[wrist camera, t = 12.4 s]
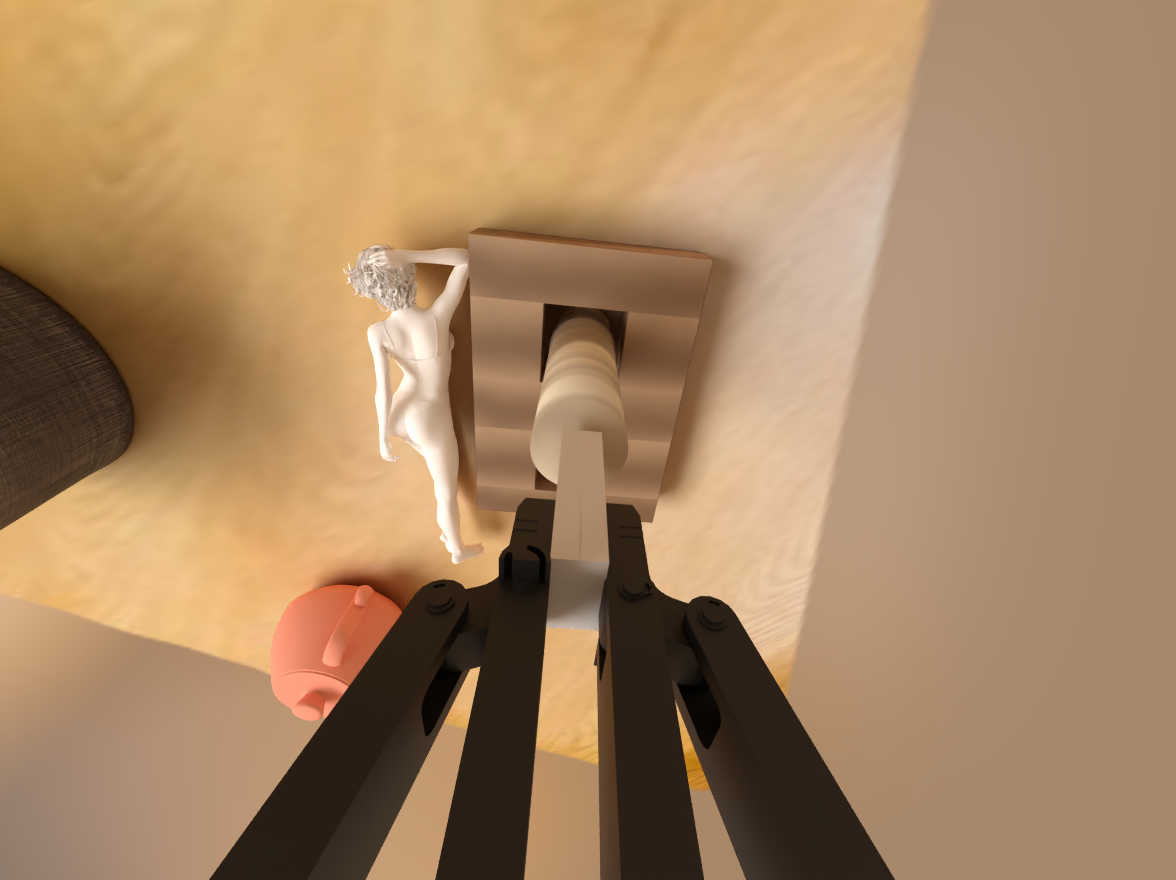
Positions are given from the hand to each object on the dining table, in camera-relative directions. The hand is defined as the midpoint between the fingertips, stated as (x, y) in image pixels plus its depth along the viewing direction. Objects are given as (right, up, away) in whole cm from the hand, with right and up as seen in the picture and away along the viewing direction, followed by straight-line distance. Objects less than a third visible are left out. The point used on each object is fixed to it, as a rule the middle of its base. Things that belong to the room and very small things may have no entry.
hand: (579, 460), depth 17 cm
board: (0, +5, +16) cm, 16 cm away
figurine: (-10, +3, +17) cm, 20 cm away
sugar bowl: (-23, -16, +29) cm, 40 cm away
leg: (0, +8, +14) cm, 16 cm away
